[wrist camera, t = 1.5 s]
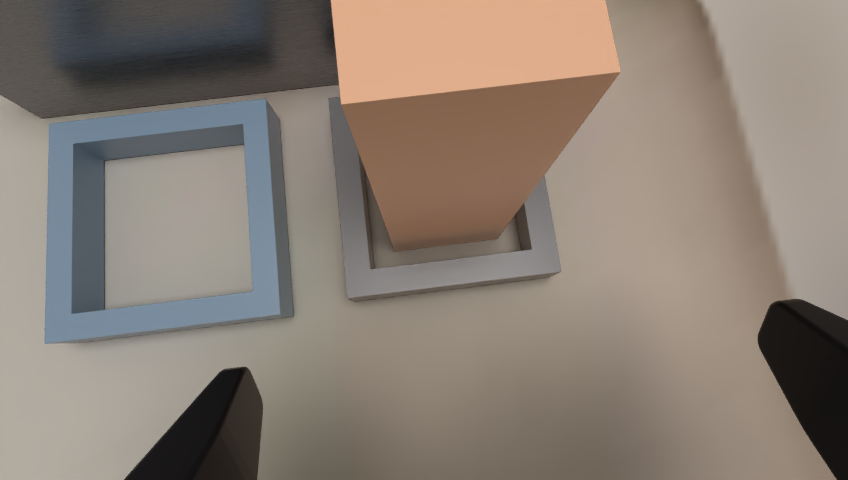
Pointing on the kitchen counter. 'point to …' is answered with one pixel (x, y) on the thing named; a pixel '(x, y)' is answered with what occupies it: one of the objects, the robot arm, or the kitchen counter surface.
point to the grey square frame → (439, 275)
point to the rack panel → (159, 51)
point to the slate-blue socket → (84, 219)
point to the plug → (466, 104)
